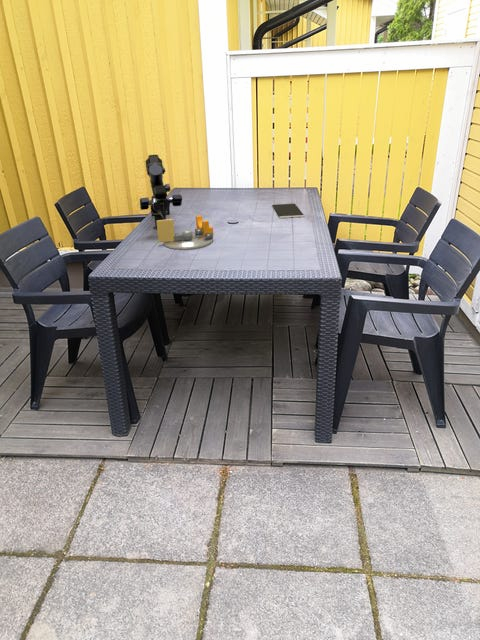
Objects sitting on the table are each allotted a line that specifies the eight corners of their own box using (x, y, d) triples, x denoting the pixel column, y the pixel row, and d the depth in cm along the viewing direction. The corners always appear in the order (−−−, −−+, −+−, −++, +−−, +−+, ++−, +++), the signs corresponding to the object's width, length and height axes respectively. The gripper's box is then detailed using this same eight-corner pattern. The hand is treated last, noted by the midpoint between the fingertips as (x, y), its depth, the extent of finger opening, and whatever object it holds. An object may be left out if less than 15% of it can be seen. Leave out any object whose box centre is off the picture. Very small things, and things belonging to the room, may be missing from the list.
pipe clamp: (213, 234, 225) (212, 220, 222) (204, 235, 224) (203, 222, 221) (205, 228, 235) (204, 215, 232) (196, 229, 234) (195, 216, 231)
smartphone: (279, 220, 245) (279, 216, 244) (271, 207, 269) (271, 204, 268) (304, 218, 246) (304, 215, 245) (295, 206, 270) (295, 203, 269)
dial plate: (176, 233, 227) (175, 227, 226) (219, 236, 221) (219, 229, 220) (154, 248, 209) (154, 241, 207) (201, 251, 202) (201, 244, 201)
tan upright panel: (191, 236, 216) (189, 215, 212) (193, 239, 213) (192, 218, 208) (158, 240, 213) (155, 219, 208) (159, 243, 209) (157, 222, 205)
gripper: (137, 179, 208) (143, 210, 203) (179, 175, 213) (186, 206, 208) (137, 194, 218) (143, 224, 214) (177, 190, 223) (184, 219, 218)
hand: (164, 218), depth 213 cm, fingers closed
